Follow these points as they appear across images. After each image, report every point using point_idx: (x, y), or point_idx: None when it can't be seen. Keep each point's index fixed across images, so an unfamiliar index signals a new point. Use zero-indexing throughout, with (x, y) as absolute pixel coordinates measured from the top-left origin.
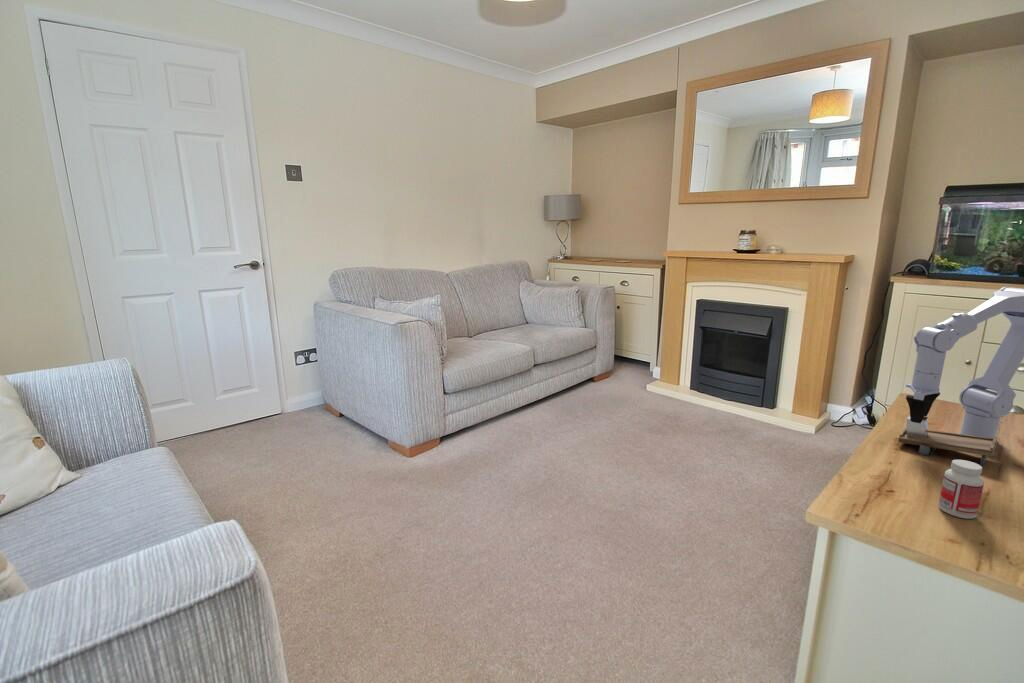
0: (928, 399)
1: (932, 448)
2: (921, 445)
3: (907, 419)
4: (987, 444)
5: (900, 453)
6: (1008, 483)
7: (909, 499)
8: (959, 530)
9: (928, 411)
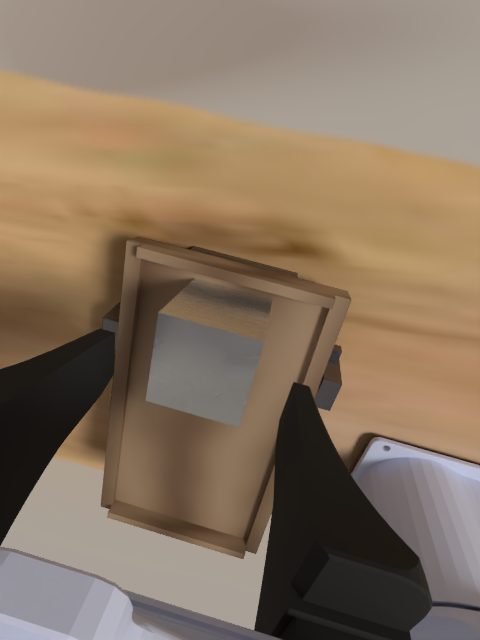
0: (273, 547)
1: None
2: (102, 321)
3: (160, 315)
4: (192, 512)
5: (94, 235)
6: (87, 458)
7: None
8: None
9: (275, 458)
